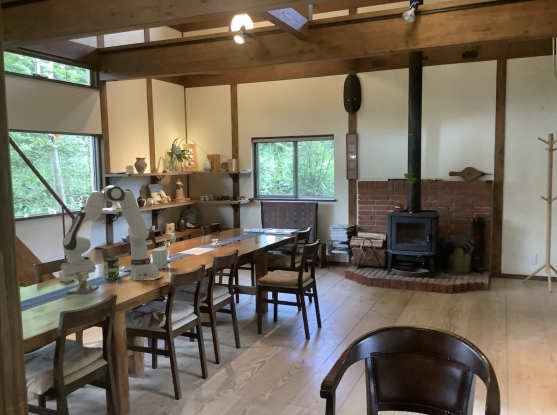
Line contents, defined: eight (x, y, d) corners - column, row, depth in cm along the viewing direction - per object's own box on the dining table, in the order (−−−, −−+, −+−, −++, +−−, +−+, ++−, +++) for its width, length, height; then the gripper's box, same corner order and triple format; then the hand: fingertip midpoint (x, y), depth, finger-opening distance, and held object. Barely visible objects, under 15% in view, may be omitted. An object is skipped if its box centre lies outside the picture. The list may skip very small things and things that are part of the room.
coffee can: (122, 276, 340) (121, 257, 339) (114, 279, 330) (113, 260, 329) (109, 275, 342) (108, 257, 341) (101, 279, 332) (100, 259, 331)
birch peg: (88, 286, 305) (87, 271, 304) (84, 288, 300) (83, 272, 299) (81, 285, 306) (80, 270, 305) (77, 288, 301) (76, 272, 300)
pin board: (98, 288, 309) (98, 280, 309) (87, 294, 295) (87, 286, 295) (78, 287, 311) (78, 280, 310) (67, 293, 297) (66, 285, 296)
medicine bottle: (74, 280, 332) (73, 263, 331) (65, 282, 326) (64, 265, 325) (68, 278, 336) (67, 262, 334) (59, 281, 330) (58, 264, 328)
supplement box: (167, 266, 369) (167, 248, 368) (163, 269, 360) (163, 250, 359) (156, 266, 370) (155, 248, 369) (152, 269, 361) (151, 250, 360)
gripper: (60, 261, 299) (67, 279, 293) (92, 256, 313) (99, 273, 307) (58, 267, 302) (65, 285, 296) (90, 262, 317) (97, 278, 311)
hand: (83, 279), depth 302 cm, fingers closed on birch peg, 5 cm apart
